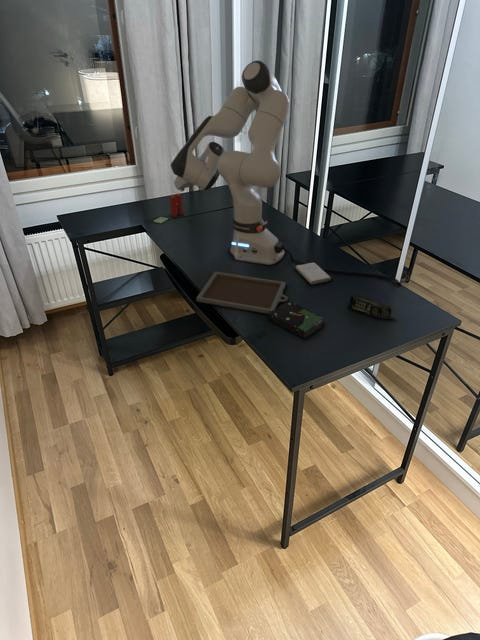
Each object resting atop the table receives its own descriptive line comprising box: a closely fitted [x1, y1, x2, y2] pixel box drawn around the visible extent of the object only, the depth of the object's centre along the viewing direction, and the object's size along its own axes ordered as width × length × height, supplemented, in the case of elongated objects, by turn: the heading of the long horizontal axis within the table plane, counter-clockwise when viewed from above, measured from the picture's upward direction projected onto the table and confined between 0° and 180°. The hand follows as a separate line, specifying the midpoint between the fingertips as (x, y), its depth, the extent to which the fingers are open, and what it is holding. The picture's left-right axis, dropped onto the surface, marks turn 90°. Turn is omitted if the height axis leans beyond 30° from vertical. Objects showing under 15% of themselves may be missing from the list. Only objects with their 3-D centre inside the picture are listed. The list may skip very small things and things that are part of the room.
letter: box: [169, 193, 184, 218], centre depth 207 cm, size 3×5×10 cm, turn 132°
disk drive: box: [268, 300, 325, 339], centre depth 138 cm, size 10×3×15 cm
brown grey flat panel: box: [195, 271, 289, 315], centre depth 152 cm, size 19×2×30 cm
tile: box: [152, 216, 169, 224], centre depth 205 cm, size 5×6×1 cm
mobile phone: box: [348, 294, 395, 320], centre depth 141 cm, size 5×3×15 cm
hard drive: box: [295, 262, 332, 285], centre depth 163 cm, size 2×8×12 cm
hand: (189, 187), depth 193 cm, fingers open, 8 cm apart
